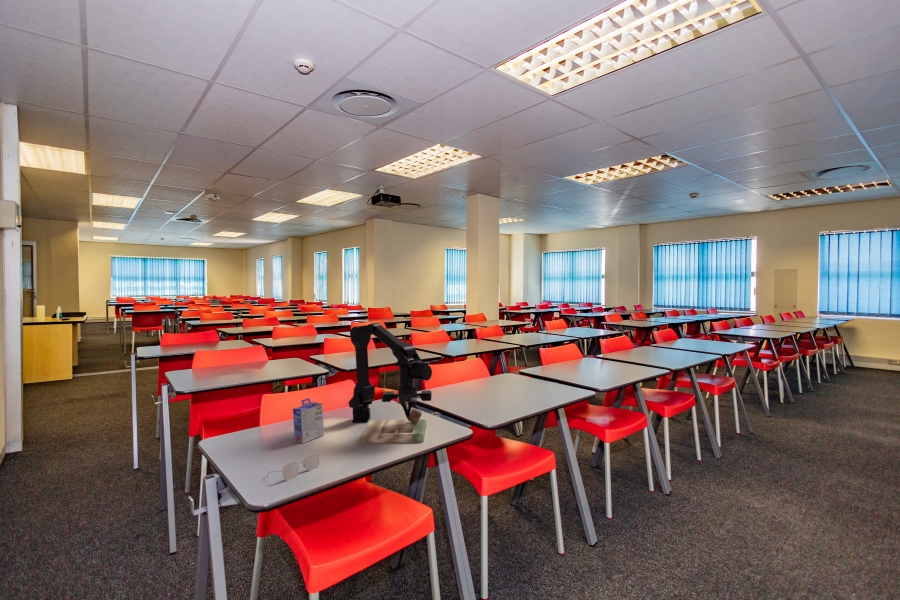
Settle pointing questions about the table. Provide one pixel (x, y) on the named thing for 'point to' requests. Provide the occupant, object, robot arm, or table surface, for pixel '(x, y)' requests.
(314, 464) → the sunglasses
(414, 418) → the walnut block
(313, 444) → the table surface
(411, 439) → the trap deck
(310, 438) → the ink cartridge box
